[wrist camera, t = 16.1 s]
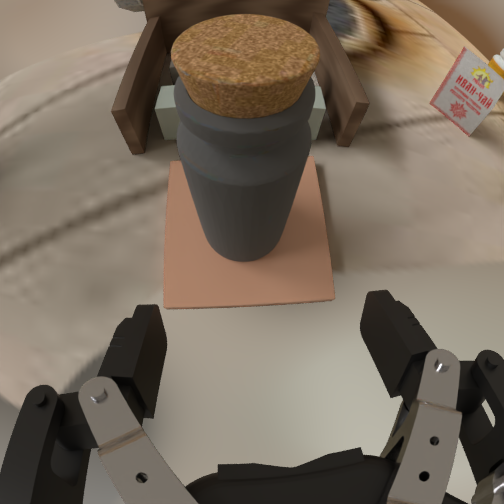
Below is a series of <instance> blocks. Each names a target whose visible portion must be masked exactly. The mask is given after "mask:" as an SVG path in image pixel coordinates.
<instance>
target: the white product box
mask: <svg viewBox="0 0 504 504" xmlns="http://www.w3.org/2000/svg"><path fill="white" fill-rule="evenodd" d="M503 92H504V79H503V78H502V77H501V76H500V75H498V74H497V73H496V72H495V71H494V70H493V69H492V68H490V67H489V66H488V65H487V64H486V63H485V62H483V61H482V60H481V59H480V58H478V57H477V56H476V55H475V54H473V53H472V52H471V51H470V50H468V49H467V48H466V47H464V48H463V49H462V51H461V53H460V55H459V56H458V58H457V59H456V61H455V63H454V64H453V66H452V68H451V69H450V71H449V73H448V74H447V76H446V77H445V79H444V81H443V82H442V84H441V85H440V87H439V89H438V90H437V92H436V93H435V95H434V97H433V98H432V100H431V101H430V104H431V105H432V106H433V107H435V108H436V109H437V110H438V111H440V112H441V113H442V114H443V115H445V116H446V117H447V118H448V119H449V120H451V121H452V122H453V123H454V124H455V125H456V126H458V127H459V128H460V129H461V130H462V131H463V132H464V133H465V134H467V135H468V136H470V135H471V133H472V132H473V131H474V130H475V129H476V128H477V127H478V125H479V124H480V123H481V122H482V121H483V120H484V118H485V117H486V116H487V115H488V114H489V112H490V111H491V110H492V109H493V107H494V106H495V104H496V103H497V101H498V100H499V98H500V96H501V95H502V93H503Z"/></svg>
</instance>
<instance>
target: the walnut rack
mask: <svg viewBox="0 0 504 504" xmlns="http://www.w3.org/2000/svg"><path fill="white" fill-rule="evenodd" d="M142 1H143V6H144V10H145V14H146V19H147V24H146V26H145V28H144V30H143V32H142V34H141V37H140V39H139V41H138V43H137V45H136V48H135V50H134V52H133V54H132V57H131V59H130V62H129V64H128V66H127V69H126V71H125V74H124V77H123V79H122V82H121V85H120V87H119V90H118V93H117V96H116V98H115V101H114V104H113V107H112V110H111V112H112V114H113V116H114V119H115V121H116V123H117V125H118V127H119V129H120V131H121V133H122V135H123V137H124V139H125V141H126V143H127V145H128V147H129V149H130V151H131V153H132V154H140V153H144V152H145V146H146V141H147V135H148V130H149V125H150V120H151V115H152V110H153V106H154V101H155V97H156V92H157V88H158V84H159V80H160V76H161V72H162V69H163V65H164V61H165V58H166V54H167V53H170V52H171V49H172V46H173V43H174V42H175V40H176V39H177V38H178V37H179V36H180V35H181V34H182V33H183V32H184V31H186V30H187V29H189V28H190V27H192V26H194V25H196V24H198V23H200V22H203V21H205V20H209V19H212V18H216V17H220V16H226V15H235V14H255V15H264V16H270V17H275V18H278V19H282V20H285V21H288V22H290V23H292V24H295V25H297V26H299V27H300V28H302V29H304V30H305V31H306V32H307V33H309V34H310V35H311V36H312V37H313V38H314V39H315V41H316V42H317V44H318V46H319V49H320V60H319V63H318V65H317V66H316V68H315V70H314V71H315V74H316V77H317V80H318V83H319V86H320V87H321V91H322V95H323V98H324V102H325V105H326V108H327V111H328V115H329V118H330V122H331V125H332V129H333V132H334V136H335V139H336V143H337V146H345V147H349V146H350V144H351V142H352V140H353V138H354V136H355V133H356V131H357V129H358V127H359V125H360V123H361V121H362V119H363V117H364V115H365V113H366V110H367V108H368V106H369V104H370V103H369V101H368V99H367V96H366V94H365V92H364V90H363V87H362V85H361V83H360V81H359V79H358V77H357V75H356V72H355V70H354V68H353V66H352V64H351V62H350V60H349V58H348V56H347V55H346V53H345V51H344V49H343V47H342V45H341V43H340V41H339V40H338V38H337V36H336V34H335V32H334V31H333V29H332V27H331V26H330V24H329V22H328V20H327V19H326V14H327V10H328V5H329V1H330V0H142Z"/></svg>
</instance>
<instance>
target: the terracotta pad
mask: <svg viewBox="0 0 504 504" xmlns="http://www.w3.org/2000/svg"><path fill="white" fill-rule="evenodd" d="M334 299H335V292H334V284H333V275H332V267H331V259H330V252H329V244H328V238H327V231H326V224H325V218H324V212H323V206H322V200H321V194H320V189H319V183H318V178H317V172H316V167H315V162H314V157H313V156H308V158H307V162H306V165H305V168H304V171H303V174H302V177H301V180H300V183H299V186H298V190H297V193H296V196H295V199H294V202H293V205H292V208H291V210H290V213H289V216H288V219H287V222H286V225H285V228H284V231H283V233H282V236H281V238H280V240H279V242H278V243H277V245H276V246H275V248H274V249H273V250H272V251H271V252H270V253H268V254H267V255H265V256H264V257H262V258H260V259H257V260H254V261H249V262H238V261H233V260H229V259H227V258H225V257H223V256H221V255H220V254H218V253H217V252H216V251H215V250H214V249H213V248H212V247H211V246H210V244H209V243H208V241H207V239H206V237H205V234H204V231H203V229H202V226H201V223H200V220H199V217H198V214H197V211H196V208H195V205H194V202H193V199H192V195H191V192H190V189H189V186H188V183H187V179H186V176H185V173H184V170H183V166H182V163H181V160H177V161H171V162H170V172H169V183H168V196H167V210H166V227H165V249H164V308H166V309H200V308H201V309H203V308H231V307H251V306H269V305H285V304H299V303H312V302H324V301H332V300H334Z"/></svg>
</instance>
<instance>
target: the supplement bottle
mask: <svg viewBox="0 0 504 504" xmlns="http://www.w3.org/2000/svg"><path fill="white" fill-rule="evenodd" d="M500 54H501V56H500V55H494V56H493V58H492V59H491V61H490V62H489V64H488V66H489V67H490V68H492V69H493V70H494V71H495V72H496V73H497V74H498V75H500V76H501V77H502V78H503V79H504V49H503V50H502V51H501V53H500ZM503 93H504V92H503ZM503 93H502V95H503ZM502 95H501V96H502ZM501 96H500V97H501Z"/></svg>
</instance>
